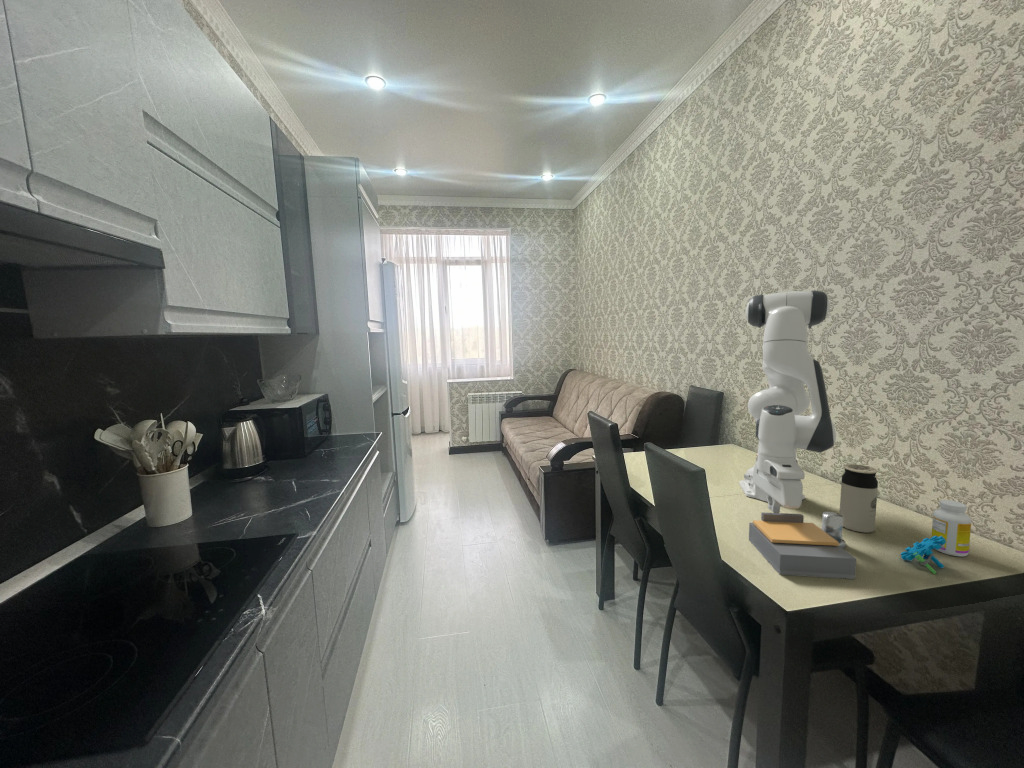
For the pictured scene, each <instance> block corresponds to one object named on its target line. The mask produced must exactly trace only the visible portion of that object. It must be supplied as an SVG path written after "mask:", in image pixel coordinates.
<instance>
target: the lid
mask: <svg viewBox="0 0 1024 768" xmlns="http://www.w3.org/2000/svg"><path fill="white" fill-rule="evenodd" d="M760 516H761V519H760V520H755V519H754V520H752V523H753V524H754V525H755V526H756V527H757V528H758V529H759V530H760V531H761V532H762V533H763V534H764V535H765V536H766V537H767V538H768V539H769V540H770V541H771V542H774V543H794V544H813V545H833V546H839V542H838V541H836V540H835V539H834V538H832V537H831V536H830V535H828V534H827V533H826V532H824V531H823V530H822V528H821V527H820V526H818V525H816V524H815V523H814V522H804V519H805V516H804V515H803V514H802V513H788V512H786V513H785V512H784V513H783V512H780V513H773V512H761V515H760Z"/></svg>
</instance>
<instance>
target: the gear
mask: <svg viewBox="0 0 1024 768" xmlns="http://www.w3.org/2000/svg"><path fill="white" fill-rule="evenodd" d="M945 543H946V541H945V538H943V537H942V536H939V537H937V536H933V537H932V538H929V537H925V538H923V539H922V541H921V542H919V541H916V542H914V543H913V544H912V545H913V547H911V546H907V547H906V548H904V550H905V551H904V550H903V551H902V552H901V553H900V555H901V556H900V557H901V559H902V560H903V561H906V560H907V561H909V562H911V561H913V560H915V559H916V560H918V563H919V564H920V565H921V566H925V567H926V569H928V570H929V572H931V573H932V574H934V575H935V574H937V571H936V570H935V569H934V568H933V567H932V566H931V565H930V564H929V563H930V561H932V562H933V563H934V564H935V565H936V566H937V567H938V568H939V569H943V568H945V565H944V564H943V563H942V561H939V559H938V558H937V557H936V556H935V555H934V552H933V551H932V550H935V549H936V550H935V551H937V550H938V549H940V548H942V546H941V545H943V544H945ZM939 544H941V545H939ZM934 548H935V549H934Z"/></svg>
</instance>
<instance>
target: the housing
mask: <svg viewBox="0 0 1024 768" xmlns="http://www.w3.org/2000/svg"><path fill="white" fill-rule="evenodd" d="M748 525H749V527H748V541H749V542H750V543H751V544H752V545H753V547H755V548H756V550H757V551H758V552H759V554H761V555H762V557H764V558H765V560H766V561H767V563H769V565H770V566H771V567H772V568H773V569H774V570H775V571H776V572H777V574H778V575H784V576H798V577H815V578H828V579H829V578H830V579H831V578H832V579H843V578H844V580H845V578H846V579H847V580H856V572H857V571H856V569H857V568H856V567H857V558H856V557H854V556H853V555H852V554H851V553H849V551H847V550H846V549H845V548H842V547H840V546H833V545H813V544H794V543H774V542H771V541H770V540H769V539H768V538H767V537H766V536H765V535H764V534H763V533H762V532H761V531H760V530H759V529H758V528H757V527H756V526H755V525H754V524H753V522H749V523H748Z"/></svg>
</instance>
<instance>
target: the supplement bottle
mask: <svg viewBox="0 0 1024 768" xmlns="http://www.w3.org/2000/svg"><path fill="white" fill-rule="evenodd" d="M938 506H939V508H938V509H935V510H934V511H933V512H932V514H933V515H932V525H931V538H932V537H933V536H937V537H939V536H942V537H943V538H945V541H946V543H945V544H943V545H941V544H939V545H941V546H942V548H940V549H938V550H936V549H935V548H934V549H933V550H935V551H937V552H940V553H942V554H945V555H949V556H955V557H966V556H968V555H969V553H970V543H971V531H972V518H971V517H970V516H969V515H968V514H966V511H967V505H966V504H965V503H963V502H959V501H956V500H955V501H954V500H950V499H940V500H939V504H938Z"/></svg>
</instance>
